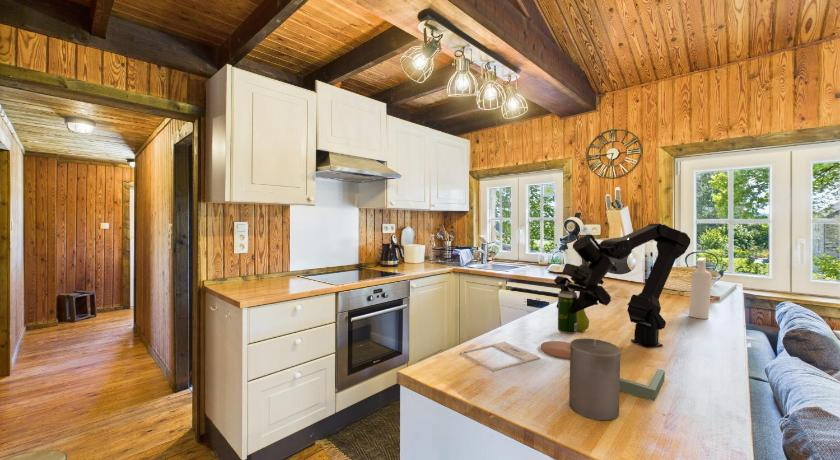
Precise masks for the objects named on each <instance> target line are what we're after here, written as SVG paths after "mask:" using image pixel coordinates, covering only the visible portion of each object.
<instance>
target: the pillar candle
mask: <svg viewBox="0 0 840 460" xmlns="http://www.w3.org/2000/svg"><path fill="white" fill-rule="evenodd" d="M570 343H571V349H570V359H569V363H570V364H569V386H568V387H569V395H568V397H569V398H568V401H569V402H568V404H569V405H568V406H569V407H570V408H571V410H572V411H574V412H575V413H576V414H577V415H580V416H582V417H583V418H586V419H589V420H593V421H613V420H616V419H617V418H618V417H619V415H620V395H621V394H620V393H621V391H620V378H621V349H620V347H618V346H617V345H615V344H614V343H611V342H608V341H605V340H600V339H596V338H576V339H573V340H571V341H570Z"/></svg>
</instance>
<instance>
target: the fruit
mask: <svg viewBox="0 0 840 460" xmlns="http://www.w3.org/2000/svg"><path fill="white" fill-rule="evenodd" d="M589 327H590V319H589V317H588V316H587V314H586V310H585V309H582V310H580V311H578V312H577V332H585V331H586V330H587V329H588V328H589Z"/></svg>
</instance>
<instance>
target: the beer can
mask: <svg viewBox="0 0 840 460" xmlns="http://www.w3.org/2000/svg"><path fill="white" fill-rule="evenodd" d="M577 293H578V292H577V291H575V292H572V291H561V290H560V291H559V292H558V295H557V298H558V299H557V303H558V308H557V330H558V332H559V333H561V334H562V335H563V334H564V335H575V334H577V332H578V331H577V312H575V313H573V314H571V313H570V312H569V311H570V309H571V307H572V306H573V304H574V303H575V301H576V300H577V299H578V297H579V296H578V295H577Z"/></svg>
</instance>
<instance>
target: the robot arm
mask: <svg viewBox="0 0 840 460" xmlns="http://www.w3.org/2000/svg"><path fill="white" fill-rule="evenodd" d="M651 241H655V242H656V244H655V245H656V249H657V250H656V251H657V256H656V259H655V261H654V263H653V265H652V268H651V270H650V272H649V275H648V277H647V279H646V281H645V284H644V286H643V288H642V291H641V292H640V293H638V294H634V293H633V294H632V295H631V297H630V300H629V301H628V303H627V313H628V317H629V321H630V323H634V324H635V325H634V327H635V328H634V333H633V335H634V338H632V339H630V341H631V342H632V343H635V344H638V345H640V346H643V348H644V347H646V348H647V349H648V348H657V347H659V348H660V347H663V346H664V345H663V343H660V342H659V338H660V336H659V335H660V331H661V330H662V329H665V328H666V324H667V321H666V320H665V319H664V317H663V316H662V315H661V314H660V313H661V309H662V307H661V304H660V297H661V294H662V291H663V290H664V288H665V285H666V283H667V280H668V278H669V276H670V273H671V271H672V269H673V267H674V265H675V262H676V261H677V259H678V258H680V257H682V256H683V255H684V254H685V253H686V251H687V250H688V248H689V247H690V245H691V238H690V236H689V235H688V233H687V232H684V231H680V230H678V229H675V228H673V227H670V226H668V225H666V224H664V223H659V222H658V223H656V222H655V223H653V222H652V223H648V224H647V225H646V226H643V227H641V228H639V229H637V230H635V231H633V232H631V233H628V234H626V235H623V236H620V237H619V236H618V237H613V238H607V239H604V240H602V241H601V242H600V243H599V242H598V241H597V240H596V239H595V236H594V235H593V234H591V233H590V234H586V235H584V236H582V237H581V238H578V239H577V240H575V241H574V242H573V244H572V249H573V250H574V251H575V252H576V254H578V256H579V257H580V258H581V259H582V261H584V262H585V263H587V265H586V264H580V265H575V264H572V263H568V262H567V263H565V264H564V266H563V269H562V272H561V273H562V274H563V275H567V276H569V277H570V279H569V277H567V276H561V275H557V276H556V277H555V278H554V279H553V283H555V284H556V285H557V286H558V288H559V289H560V291H572V292H579V293H578V294H579V295H578V296H577V297H578V299H577V300H576V301H575V303H574V304H573V306H572V307H571V309H570V311H569V312H570V313H571V314H573V313H575V312H578V311H580V310H582V309H584V310H585V309H586V308H587V309H588V308H590V307H593V306H598V305H599V304H600V305H603V306H608V305H609V304H610V302H611V301H612V297H611V295H610V293H608V291H607V290H606V288H604V287H603V286H602V285H603V284H604V283H605V282H604V280H603V279H604V277H605V276H606V275H607V274H608V273H609V272H610V271H611V272H618V267H617V263H616V262H614V261H612V260H611V259H613V260H624V259H625V258H626V257H628V256H629V255H631V254H632V252H633V250H634V249H636V248H637V247H640V246H642V245H645V244H647V243H648V242H651ZM556 308H557V309H558V302H557V304H556Z"/></svg>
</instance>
